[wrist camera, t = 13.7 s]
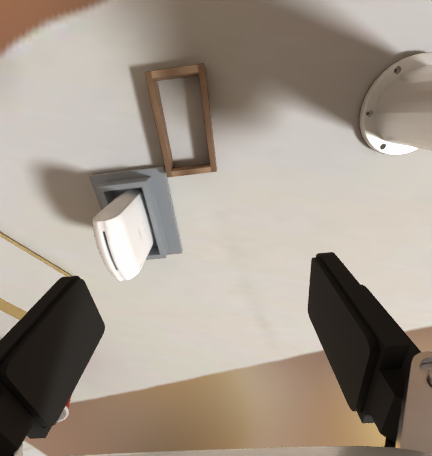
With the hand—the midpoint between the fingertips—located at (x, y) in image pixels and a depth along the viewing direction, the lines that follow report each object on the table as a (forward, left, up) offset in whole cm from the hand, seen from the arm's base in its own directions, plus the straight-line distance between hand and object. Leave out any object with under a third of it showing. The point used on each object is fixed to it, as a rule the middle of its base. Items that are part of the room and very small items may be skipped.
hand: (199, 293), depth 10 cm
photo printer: (+14, +8, -30) cm, 34 cm away
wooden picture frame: (+4, -5, -30) cm, 31 cm away
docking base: (+14, +8, -30) cm, 34 cm away
